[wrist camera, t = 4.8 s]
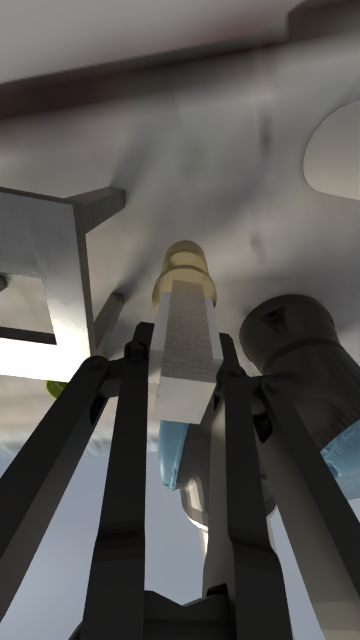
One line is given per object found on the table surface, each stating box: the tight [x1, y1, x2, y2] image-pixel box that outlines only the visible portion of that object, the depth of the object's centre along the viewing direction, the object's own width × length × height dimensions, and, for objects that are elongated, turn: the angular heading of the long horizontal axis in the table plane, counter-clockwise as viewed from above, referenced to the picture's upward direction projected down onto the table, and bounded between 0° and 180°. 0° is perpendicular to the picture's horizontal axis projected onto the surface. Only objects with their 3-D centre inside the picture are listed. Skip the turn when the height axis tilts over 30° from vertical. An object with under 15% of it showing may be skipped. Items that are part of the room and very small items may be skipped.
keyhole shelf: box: [0, 187, 125, 382], centre depth 24 cm, size 22×18×16 cm
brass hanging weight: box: [152, 240, 217, 424], centre depth 18 cm, size 6×6×20 cm
